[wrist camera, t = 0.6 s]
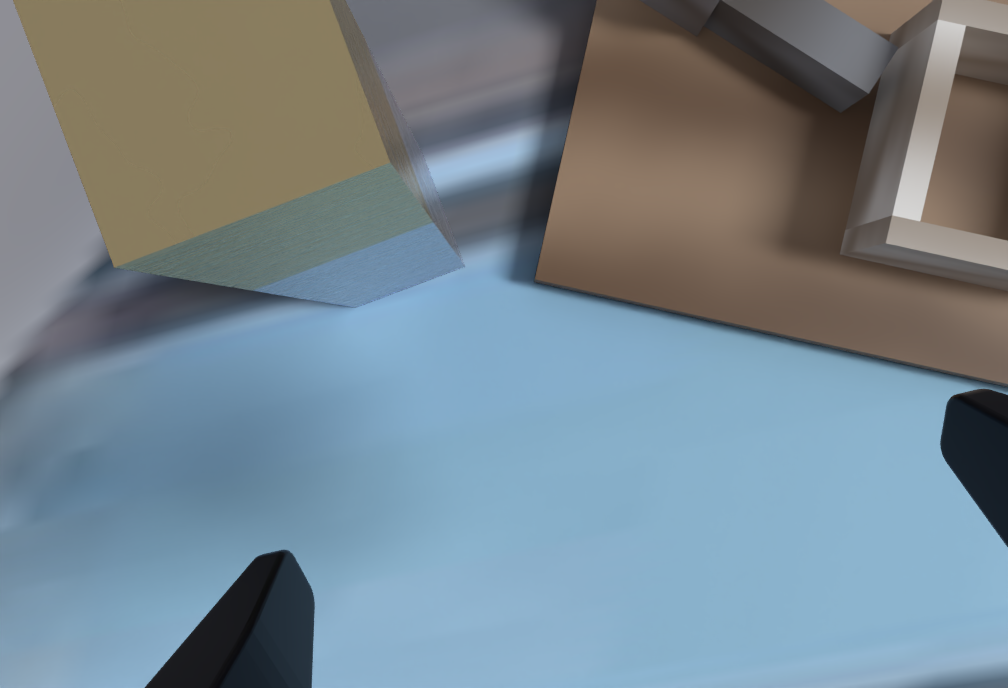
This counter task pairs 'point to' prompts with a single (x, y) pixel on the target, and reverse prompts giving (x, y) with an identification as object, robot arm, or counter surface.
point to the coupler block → (242, 145)
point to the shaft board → (796, 173)
